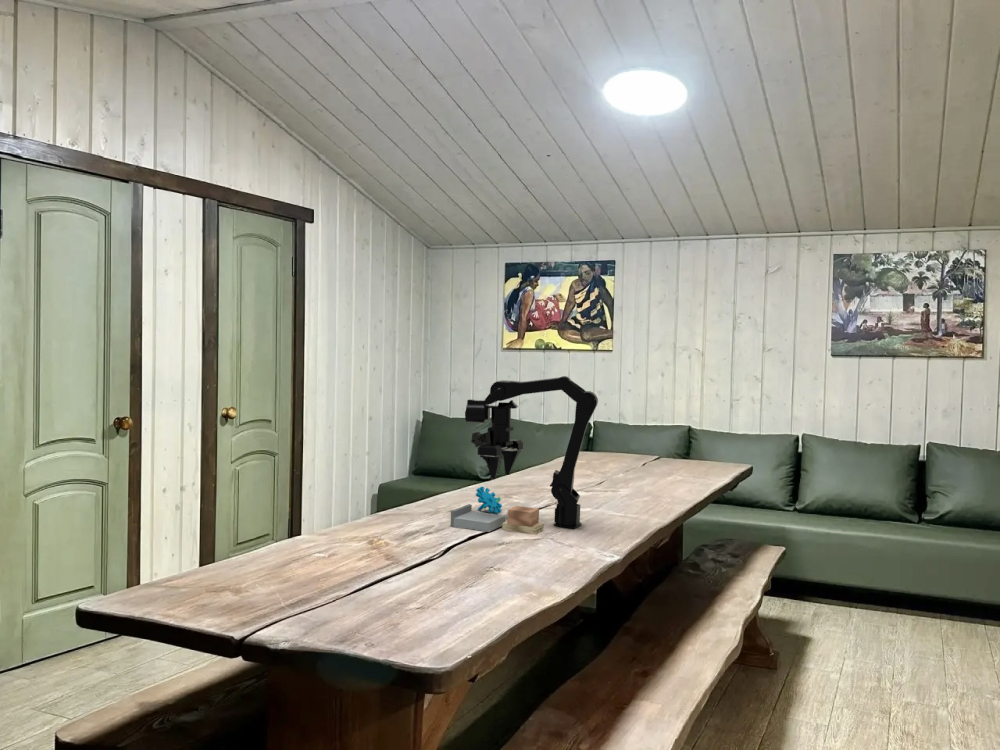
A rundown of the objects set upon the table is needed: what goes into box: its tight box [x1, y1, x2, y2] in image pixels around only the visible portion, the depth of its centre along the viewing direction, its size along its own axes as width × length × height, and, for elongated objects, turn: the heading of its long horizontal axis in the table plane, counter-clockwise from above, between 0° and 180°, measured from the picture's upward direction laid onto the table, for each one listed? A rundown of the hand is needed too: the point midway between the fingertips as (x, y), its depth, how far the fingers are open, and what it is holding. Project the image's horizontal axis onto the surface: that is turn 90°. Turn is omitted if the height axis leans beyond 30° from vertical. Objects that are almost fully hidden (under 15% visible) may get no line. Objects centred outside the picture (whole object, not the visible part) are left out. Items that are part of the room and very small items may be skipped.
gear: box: [475, 485, 503, 515], centre depth 246 cm, size 11×6×10 cm
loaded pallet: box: [501, 505, 545, 535], centre depth 223 cm, size 10×6×6 cm, turn 65°
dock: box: [449, 503, 507, 533], centre depth 227 cm, size 12×11×4 cm
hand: (500, 476), depth 234 cm, fingers open, 9 cm apart
